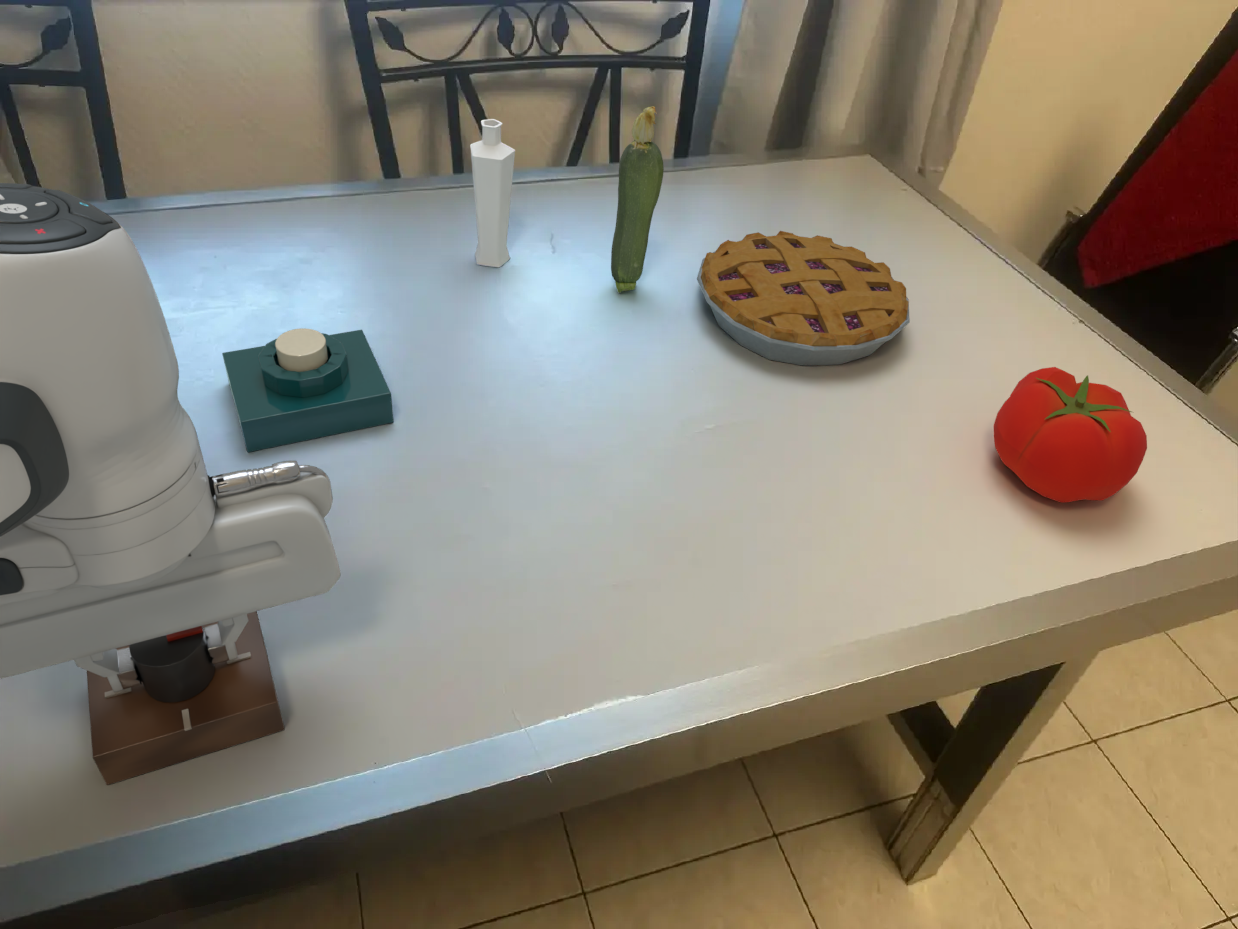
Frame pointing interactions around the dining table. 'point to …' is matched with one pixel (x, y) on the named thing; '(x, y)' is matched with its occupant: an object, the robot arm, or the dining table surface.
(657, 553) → the dining table surface
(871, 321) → the pie
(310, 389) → the teal push button box
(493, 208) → the perfume bottle
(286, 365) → the cream push button
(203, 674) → the dial
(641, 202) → the vegetable
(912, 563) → the dining table surface
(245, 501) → the robot arm
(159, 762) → the dial panel
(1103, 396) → the tomato
